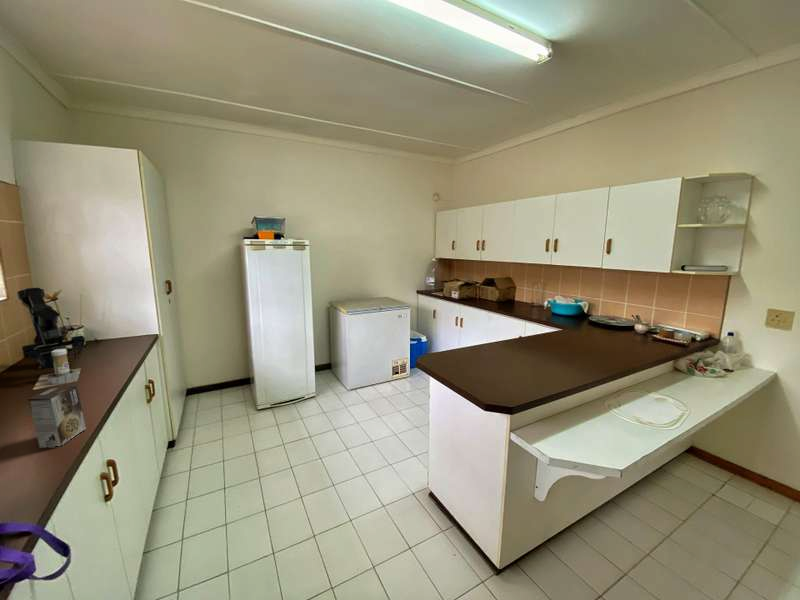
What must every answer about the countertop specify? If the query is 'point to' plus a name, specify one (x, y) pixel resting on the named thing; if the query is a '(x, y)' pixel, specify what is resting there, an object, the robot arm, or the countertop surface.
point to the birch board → (44, 381)
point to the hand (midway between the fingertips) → (60, 362)
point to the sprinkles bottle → (60, 362)
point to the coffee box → (57, 415)
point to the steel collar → (62, 377)
